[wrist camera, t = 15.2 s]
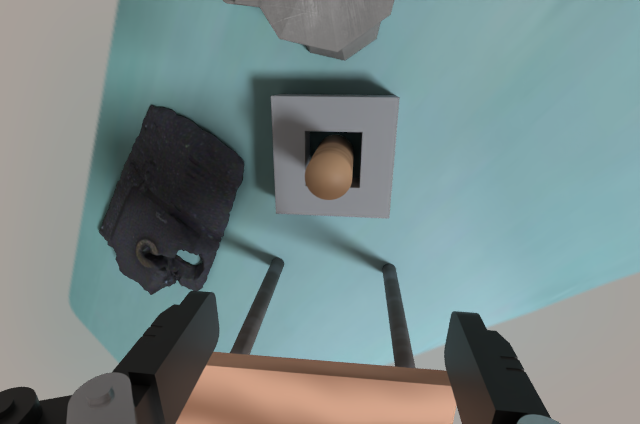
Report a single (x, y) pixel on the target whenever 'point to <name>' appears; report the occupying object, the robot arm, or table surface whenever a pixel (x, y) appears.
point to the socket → (334, 116)
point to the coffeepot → (325, 23)
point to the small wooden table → (318, 380)
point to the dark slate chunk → (171, 202)
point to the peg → (330, 168)
